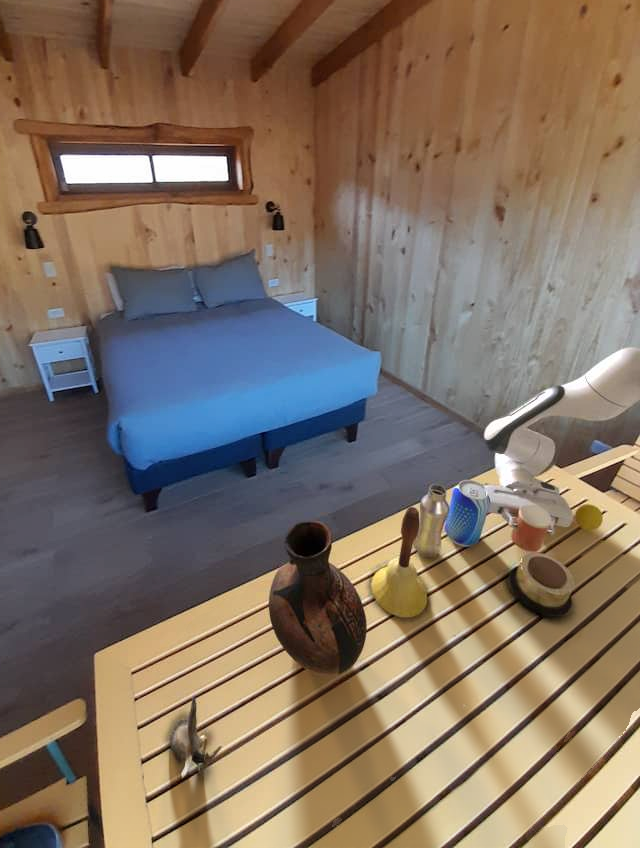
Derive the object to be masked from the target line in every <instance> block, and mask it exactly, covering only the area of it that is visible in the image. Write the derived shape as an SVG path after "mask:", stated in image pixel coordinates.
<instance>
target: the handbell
mask: <svg viewBox="0 0 640 848" xmlns="http://www.w3.org/2000/svg"><path fill="white" fill-rule="evenodd" d="M419 518H420V511H419V510H418V509H417V508H416V507H414V506H410V507H408V508H407V509H406V510H405V513H404V515H403V517H402V520H401V526H400V534H401V547H400V551H399V558H394V559H392V560H391V561H389V562H388V564H387V566H384V567H382V568H380V569H379V570H378V571H376V572H375V574H374V576H373V577H372V579H371V585H370V587H371V591H372V595H373V597H374V599H375V601H376V603H377V604H378V605H379V606H380V607H381V608H382V609H383V610H384V611H386V612H387V613H389V614H390V615H393V616H396V617H399V618H412V617H416V616H418V615H420V614H421V613H422V612H423V611H424V610H425V608H426V606H427V604H428V592H427V590H426V587H425V585H424V583H423V582H422V580H421V579H420V577H418V572H417V568H416V567H415V566H414V564H413V563H412V562H410V560H411V555H412V551H413V550H412V549H413V541H414V540H415V539H416V537H417V535H418V531H419V524H420V522H419Z"/></svg>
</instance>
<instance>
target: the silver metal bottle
mask: <svg viewBox="0 0 640 848" xmlns="http://www.w3.org/2000/svg"><path fill="white" fill-rule="evenodd" d="M449 506H450V504H449V503H448V501H447V489H446V488H445V486H443V485H441V484H436V483H434V484H430V485H429V488H428V490H427V494H426V495H424V496H423V497H422V498H421V500H420V502H419V522H420V524H419V531H418V535H417V537H416V539H415V540H414V541H413V545H412V547H413V548H414V549H415V551H416V552H417V553H418V554H419V555H420V556H423V557H426V558H433V557H435V556H437V555H438V554H439V552H440V550H441V548H442V533H443V529H444V527H445V523H446V519H447V517H448V515H449V512H450V510H449Z"/></svg>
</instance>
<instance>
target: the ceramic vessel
mask: <svg viewBox="0 0 640 848" xmlns="http://www.w3.org/2000/svg"><path fill="white" fill-rule="evenodd" d="M332 546H333V539H332V533H331V531H330V529H329V528H328V526H327V525H325V523H322V522H321V521H317V520H307V521H300V522H297V523H296V524H294V525H293V526H292V527H290V528H289V530H288V532H287V533H286V536H285V538H284V549H285V551H286V553H287V556H289V561H286V562H285V563H283V564H282V565H281V566H280V567H279V568H278V570H277V571H276V573H275V574H274V577H273V579H272V582H271V585H270V589H269V595H268V613H269V620H270V624H271V626H272V630H273V632H274V634H275V636H276V639H277V641H278V642H279V643H280V645H281V646H282V647H281V648H283V649H284V651H285V652H286V654H287V655H289V656H290V657H291V659H292V660H293V661H294V662H296V663H297V664H298V665H299V666H300V667H301V668H303V669H305V670H306V671H309V672H311V673H314V674H317V675H321V676H336V675H337V676H338V675H341V674H343V673H345V672H347V671H349V670H350V669H351V668H352V667H353V666H354V665H355V664H356V663H357V661H358V659H359V658H360V656H361V654H362V652H363V650H364V646H365V644H366V638H367V629H368V627H367V616H366V611H365V608H364V605H363V602H362V598H361V596H360V595H359V593H358V591H357V589H356V587H355V586H354V585H353V583H352V582H351V580H350V578H348V577H347V575H345V573H344V572H343V571H341V569H339V568H338V567H337V566H335V565H334V564H332V563H331V562H330V561H329V559H330V554H331V553H332V552H331V551H332V549H333V547H332Z"/></svg>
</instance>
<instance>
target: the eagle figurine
mask: <svg viewBox="0 0 640 848" xmlns="http://www.w3.org/2000/svg"><path fill="white" fill-rule="evenodd" d="M196 700H197V699H196V695H193V696H192V699H191V705H190V709H189V712H188V713H189V714H188V718H186V717H185V718H180V720H178V721H177V723H176V725H174V726H173V727H174V728H173V730H172V731H171V735H170V738H169V747H170V749H171V751H172V755H173V758H174V760H175V761H176V762H177V763H178V764H182V763H183V762H185V764H184V767H183V770H182V772H181V775H180V776H181V779H184V777H186V776H187V774H188V773H189V770H190V768H191V766H192V762H193V763H194V764H195V765H196V766H197V773H196V776H197V777H200V774H201V775H205V770H206V768H207V767H208V766H209V764H210V763H211V762H212V760H213V759H214V758H215V757H216V756H217V755H218V753H219V752H220V751H221V749H222V745H219V746H218V747H217V748H215V749H214V750H213V752H212V753H209V752H206V753H205V752H203V751H202V747H203V745H204V743H205V741H206V740H208V737H207V736H205V734H203V735H201V736H199V732H198V729H197V725H198V724H197V723H198V721H197V706H198V705H197V702H196Z"/></svg>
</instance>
